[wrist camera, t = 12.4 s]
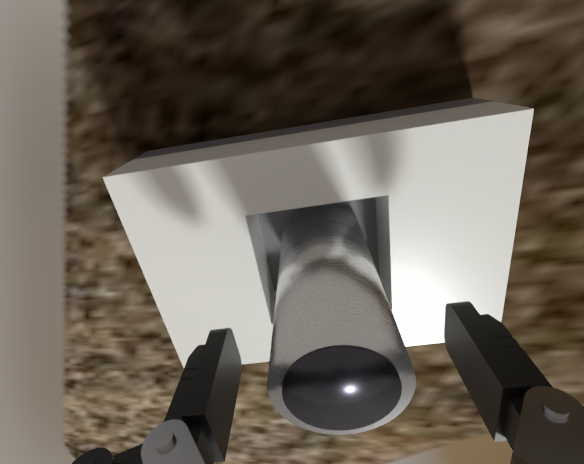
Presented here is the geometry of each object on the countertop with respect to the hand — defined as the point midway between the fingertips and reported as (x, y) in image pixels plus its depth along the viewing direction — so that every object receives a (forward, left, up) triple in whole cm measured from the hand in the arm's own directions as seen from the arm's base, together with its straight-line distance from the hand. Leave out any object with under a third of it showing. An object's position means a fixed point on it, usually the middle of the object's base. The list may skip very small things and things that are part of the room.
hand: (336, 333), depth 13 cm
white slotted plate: (0, 0, -9) cm, 9 cm away
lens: (0, 0, -7) cm, 7 cm away
